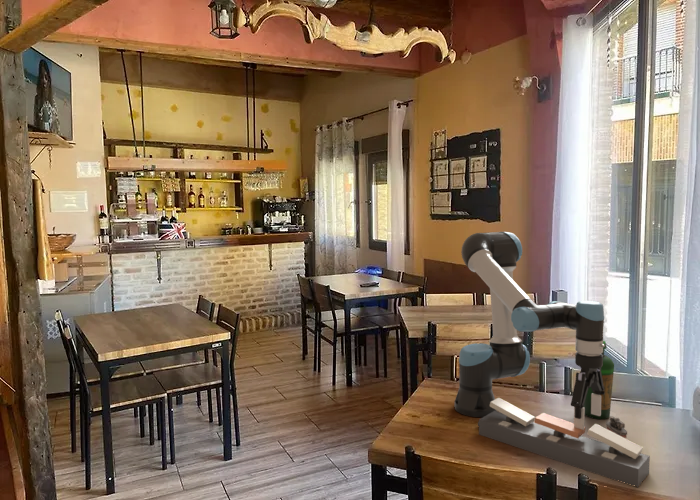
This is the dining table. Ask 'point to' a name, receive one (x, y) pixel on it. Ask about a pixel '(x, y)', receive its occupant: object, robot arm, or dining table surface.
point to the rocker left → (512, 411)
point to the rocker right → (615, 441)
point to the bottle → (607, 378)
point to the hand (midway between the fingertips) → (587, 421)
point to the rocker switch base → (566, 448)
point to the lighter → (616, 426)
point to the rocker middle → (559, 425)
